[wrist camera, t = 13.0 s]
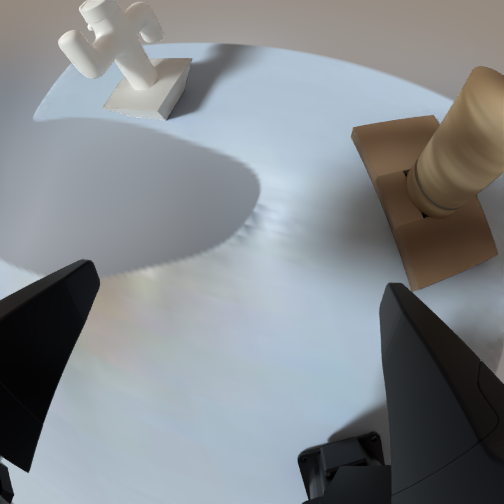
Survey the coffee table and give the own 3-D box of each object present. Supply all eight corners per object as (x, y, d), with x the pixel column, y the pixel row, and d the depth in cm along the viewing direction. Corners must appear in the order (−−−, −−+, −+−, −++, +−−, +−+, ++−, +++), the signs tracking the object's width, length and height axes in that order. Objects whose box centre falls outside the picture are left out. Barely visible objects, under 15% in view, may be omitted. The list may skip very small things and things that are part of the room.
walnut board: (489, 258, 19) (498, 254, 18) (411, 291, 20) (419, 289, 18) (428, 123, 23) (433, 115, 21) (350, 137, 23) (353, 127, 22)
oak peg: (458, 216, 20) (552, 140, 8) (414, 230, 21) (510, 147, 8) (436, 164, 22) (505, 69, 9) (391, 175, 22) (453, 63, 9)
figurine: (206, 75, 27) (162, -37, 13) (166, 142, 26) (85, 26, 11) (153, 73, 29) (100, -19, 14) (113, 135, 27) (32, 45, 13)
